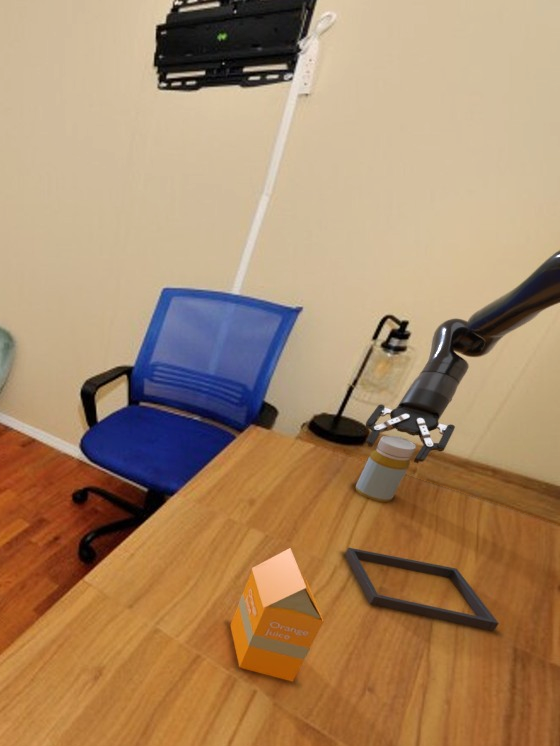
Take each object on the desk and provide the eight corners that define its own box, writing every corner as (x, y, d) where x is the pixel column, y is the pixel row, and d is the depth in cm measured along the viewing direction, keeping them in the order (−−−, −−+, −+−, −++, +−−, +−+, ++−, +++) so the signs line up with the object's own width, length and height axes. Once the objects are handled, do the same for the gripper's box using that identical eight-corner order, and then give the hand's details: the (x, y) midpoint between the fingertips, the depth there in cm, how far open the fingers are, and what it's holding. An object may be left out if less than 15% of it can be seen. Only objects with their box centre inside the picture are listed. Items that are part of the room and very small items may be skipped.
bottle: (363, 501, 121) (389, 448, 114) (348, 484, 127) (372, 433, 120) (397, 505, 119) (425, 451, 112) (381, 488, 125) (407, 436, 118)
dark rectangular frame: (450, 578, 99) (456, 568, 98) (491, 633, 88) (499, 623, 87) (343, 556, 105) (348, 547, 104) (368, 606, 94) (374, 596, 92)
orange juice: (278, 639, 88) (318, 553, 78) (292, 684, 80) (338, 595, 71) (228, 627, 90) (261, 541, 81) (237, 670, 83) (274, 581, 73)
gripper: (391, 378, 120) (355, 434, 120) (473, 399, 110) (435, 461, 109) (388, 392, 125) (354, 446, 125) (467, 413, 115) (430, 472, 115)
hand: (392, 453), depth 117 cm, fingers open, 8 cm apart
